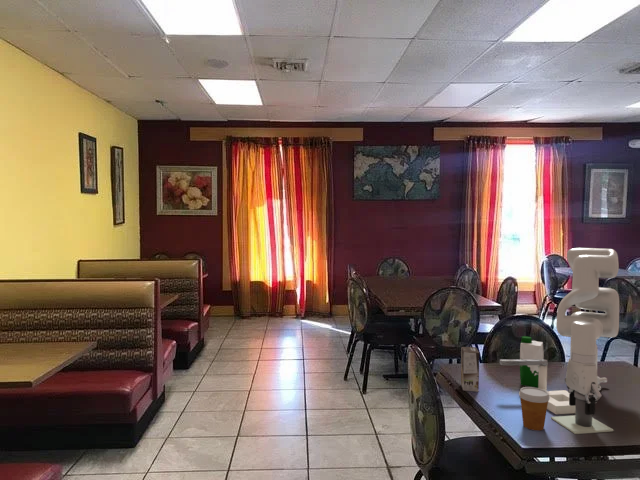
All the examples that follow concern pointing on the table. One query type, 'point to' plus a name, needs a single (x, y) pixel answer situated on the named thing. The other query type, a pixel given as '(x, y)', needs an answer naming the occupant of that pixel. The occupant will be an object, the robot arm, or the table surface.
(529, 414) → the disposable coffee cup
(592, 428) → the rubber mat
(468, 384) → the coffee box
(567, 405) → the socket base
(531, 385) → the milk carton
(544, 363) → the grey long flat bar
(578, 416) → the plug
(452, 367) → the table surface
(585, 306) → the robot arm
